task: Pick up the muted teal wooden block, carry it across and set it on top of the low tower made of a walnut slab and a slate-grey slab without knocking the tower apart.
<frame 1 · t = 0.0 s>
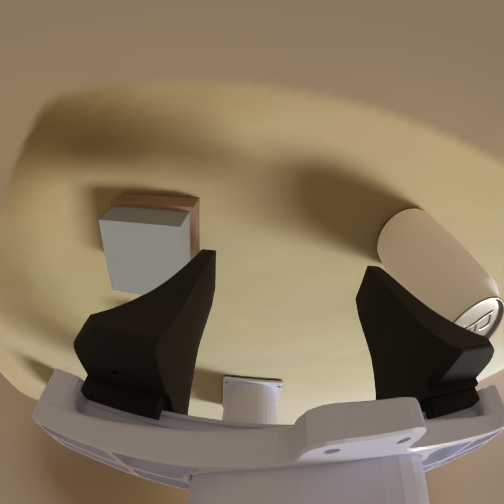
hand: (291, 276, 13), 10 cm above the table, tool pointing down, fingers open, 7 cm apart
can: (405, 238, 23), on the table
tower top: (152, 245, 22), point 2 cm above the table, touching tower base
tower base: (162, 230, 24), on the table, touching tower top
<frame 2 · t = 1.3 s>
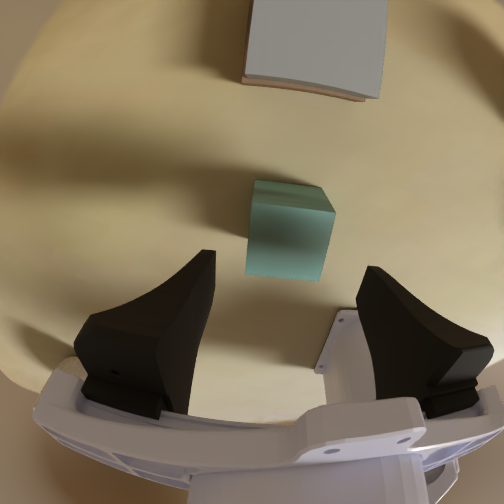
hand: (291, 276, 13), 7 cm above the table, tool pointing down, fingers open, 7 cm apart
teal block: (284, 213, 19), on the table
tower top: (313, 35, 11), point 2 cm above the table, touching tower base
tower base: (305, 43, 13), on the table, touching tower top
planter: (96, 373, 33), on the table
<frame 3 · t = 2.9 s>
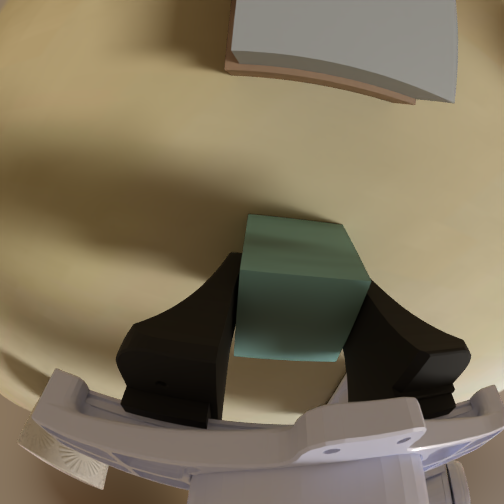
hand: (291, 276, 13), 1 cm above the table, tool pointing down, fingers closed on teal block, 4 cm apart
teal block: (289, 259, 14), on the table, touching gripper
tower base: (321, 16, 8), on the table, touching tower top
planter: (82, 405, 28), on the table
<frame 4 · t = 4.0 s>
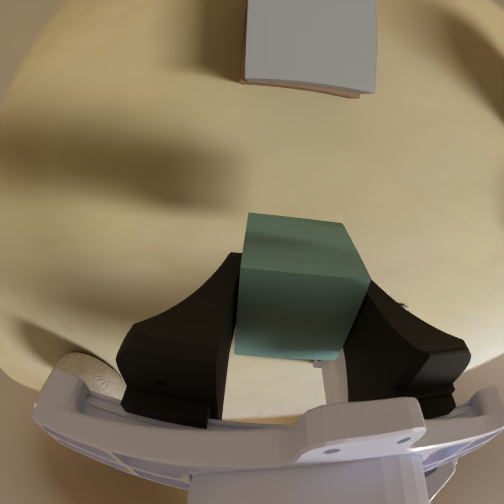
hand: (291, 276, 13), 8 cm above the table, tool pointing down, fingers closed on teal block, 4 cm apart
teal block: (289, 258, 14), point 7 cm above the table, touching gripper
tower top: (307, 35, 12), point 2 cm above the table
tower base: (300, 42, 14), on the table
planter: (97, 369, 34), on the table
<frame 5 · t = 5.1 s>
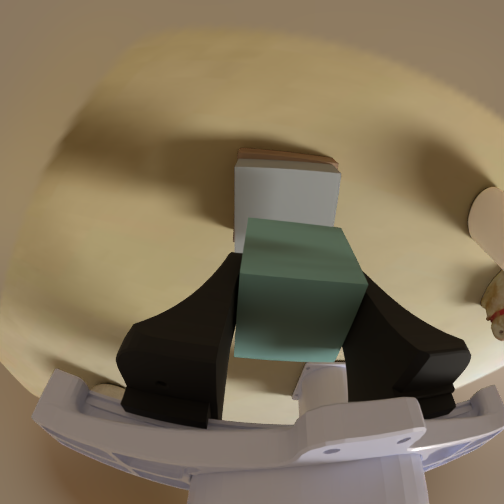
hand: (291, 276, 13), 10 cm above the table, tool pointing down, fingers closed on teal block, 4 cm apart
chocolate bunny: (495, 285, 25), on the table
can: (485, 213, 21), on the table
teal block: (288, 262, 14), point 9 cm above the table, touching gripper
tower top: (283, 204, 20), point 2 cm above the table, touching tower base
tower base: (281, 192, 22), on the table, touching tower top
planter: (122, 395, 42), on the table
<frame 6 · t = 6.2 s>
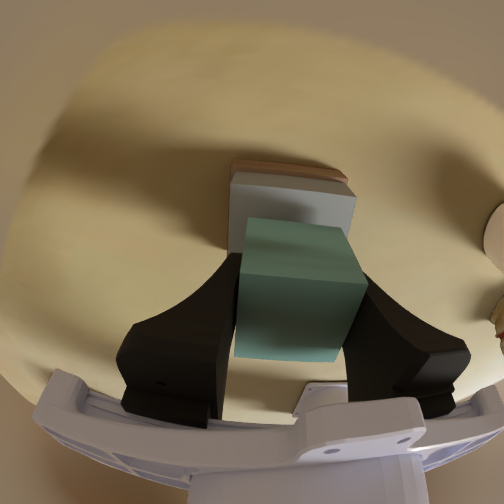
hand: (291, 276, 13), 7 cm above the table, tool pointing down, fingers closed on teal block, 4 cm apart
can: (500, 228, 18), on the table
teal block: (288, 262, 14), point 6 cm above the table, touching gripper
tower top: (285, 226, 17), point 2 cm above the table, touching tower base
tower base: (282, 210, 19), on the table, touching tower top
when the fingers open (7 cm above the table, at t = 6.7 s): teal block drops 1 cm, point 5 cm above the table.
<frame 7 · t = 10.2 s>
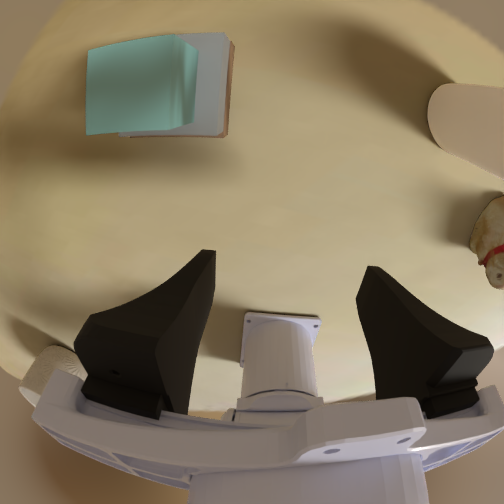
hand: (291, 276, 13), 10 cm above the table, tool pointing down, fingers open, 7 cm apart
chocolate bunny: (486, 225, 21), on the table
can: (451, 118, 17), on the table
teal block: (159, 87, 13), point 5 cm above the table
tower top: (178, 85, 15), point 2 cm above the table, touching tower base
tower base: (185, 89, 18), on the table, touching tower top
planter: (73, 361, 38), on the table
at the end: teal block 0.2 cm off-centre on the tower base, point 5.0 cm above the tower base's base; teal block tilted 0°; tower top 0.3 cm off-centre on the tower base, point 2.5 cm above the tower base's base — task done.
